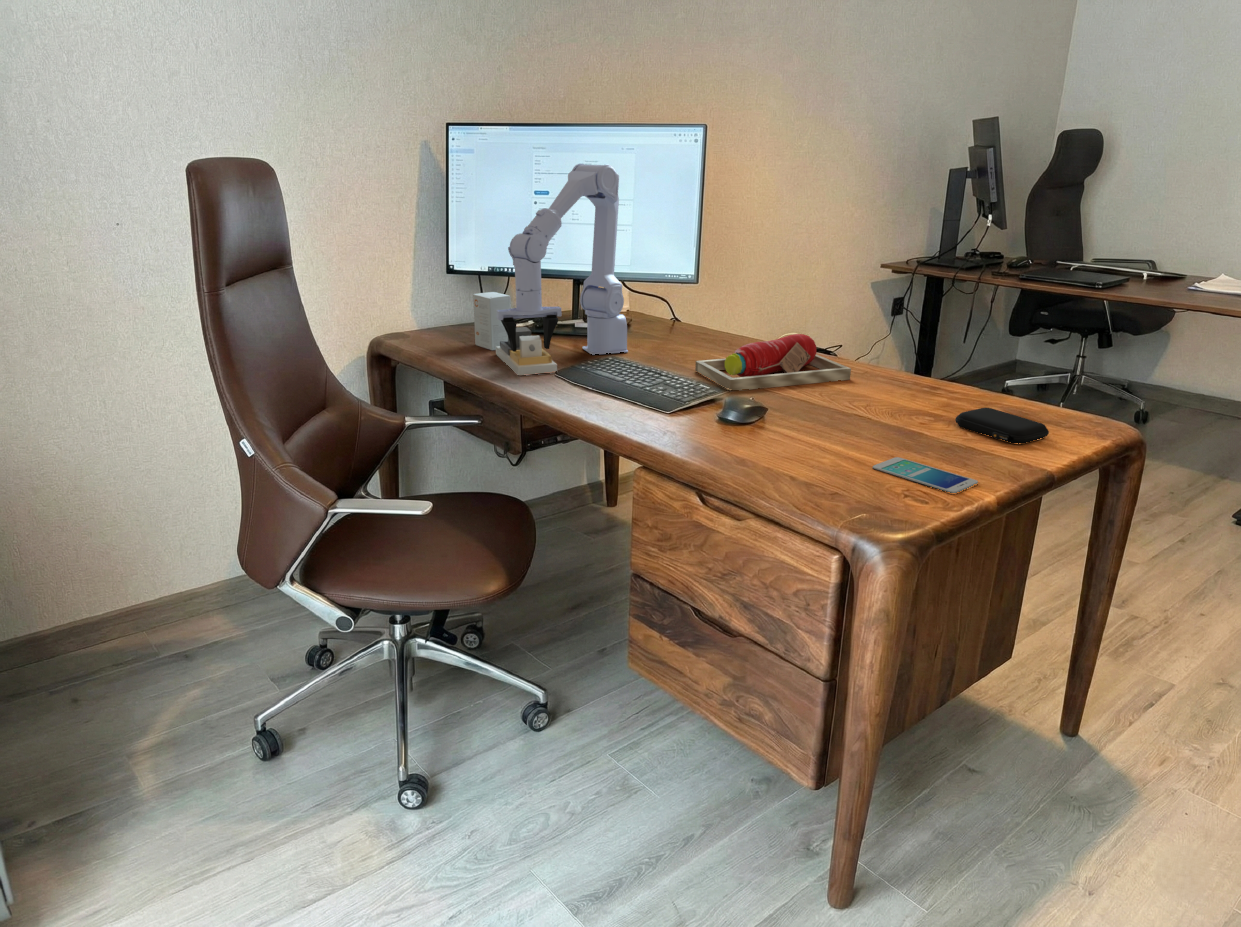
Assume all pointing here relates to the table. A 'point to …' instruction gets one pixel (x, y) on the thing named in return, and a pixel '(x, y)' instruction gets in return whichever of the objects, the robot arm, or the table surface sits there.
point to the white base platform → (525, 360)
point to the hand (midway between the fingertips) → (530, 349)
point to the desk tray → (775, 375)
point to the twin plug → (520, 332)
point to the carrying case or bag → (1002, 425)
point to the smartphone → (925, 475)
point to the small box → (489, 319)
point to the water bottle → (772, 356)
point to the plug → (530, 346)
